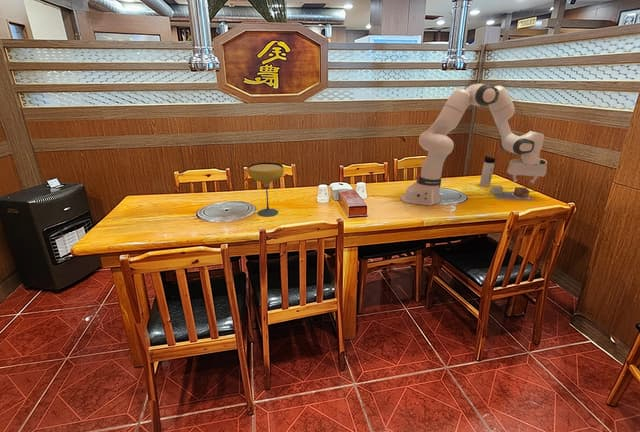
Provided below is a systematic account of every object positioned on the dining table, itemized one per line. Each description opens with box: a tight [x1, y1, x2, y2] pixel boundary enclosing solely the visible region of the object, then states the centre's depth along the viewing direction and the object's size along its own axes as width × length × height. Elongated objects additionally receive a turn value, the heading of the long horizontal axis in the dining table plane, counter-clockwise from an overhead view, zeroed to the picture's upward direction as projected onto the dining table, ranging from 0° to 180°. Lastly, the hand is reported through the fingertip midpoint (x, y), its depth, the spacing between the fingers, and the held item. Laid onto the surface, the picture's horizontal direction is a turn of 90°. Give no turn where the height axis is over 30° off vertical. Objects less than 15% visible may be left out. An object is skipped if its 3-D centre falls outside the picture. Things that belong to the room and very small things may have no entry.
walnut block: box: [513, 186, 530, 198], centre depth 207 cm, size 6×6×4 cm
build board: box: [489, 190, 534, 202], centre depth 209 cm, size 20×15×1 cm
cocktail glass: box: [247, 162, 285, 218], centre depth 178 cm, size 18×18×25 cm
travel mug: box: [479, 155, 496, 188], centre depth 224 cm, size 6×7×20 cm
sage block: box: [490, 184, 504, 195], centre depth 213 cm, size 5×5×4 cm
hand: (523, 182), depth 205 cm, fingers open, 8 cm apart
